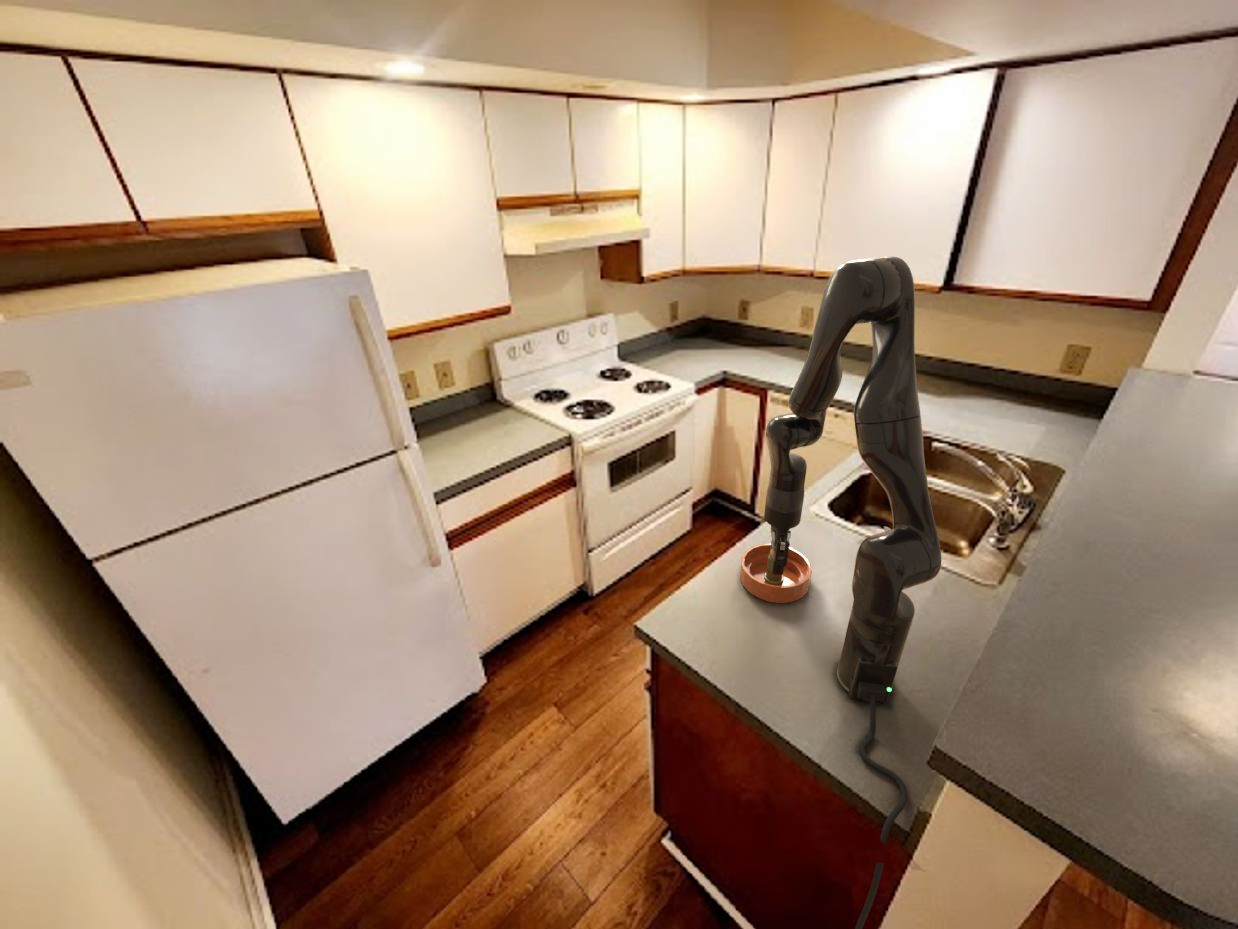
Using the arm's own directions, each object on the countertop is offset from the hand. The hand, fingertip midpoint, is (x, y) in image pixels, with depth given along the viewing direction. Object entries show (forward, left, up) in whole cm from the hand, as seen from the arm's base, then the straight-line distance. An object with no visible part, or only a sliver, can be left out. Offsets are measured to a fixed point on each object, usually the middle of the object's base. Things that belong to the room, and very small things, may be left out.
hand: (776, 561), depth 120 cm
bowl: (0, 0, -6) cm, 6 cm away
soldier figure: (+15, -25, -6) cm, 30 cm away
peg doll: (0, 0, -5) cm, 5 cm away
